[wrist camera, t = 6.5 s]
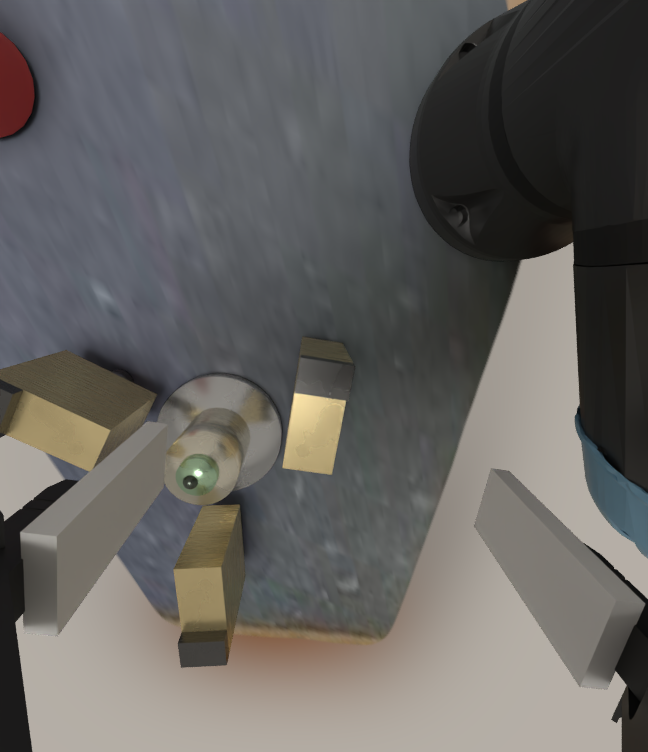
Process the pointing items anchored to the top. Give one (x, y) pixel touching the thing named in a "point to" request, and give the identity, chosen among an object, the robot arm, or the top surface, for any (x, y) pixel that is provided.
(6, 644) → the robot arm
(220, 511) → the brass angular block
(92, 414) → the brass wedge block
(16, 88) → the beer can
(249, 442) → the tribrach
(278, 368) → the top surface
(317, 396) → the gold angular block
